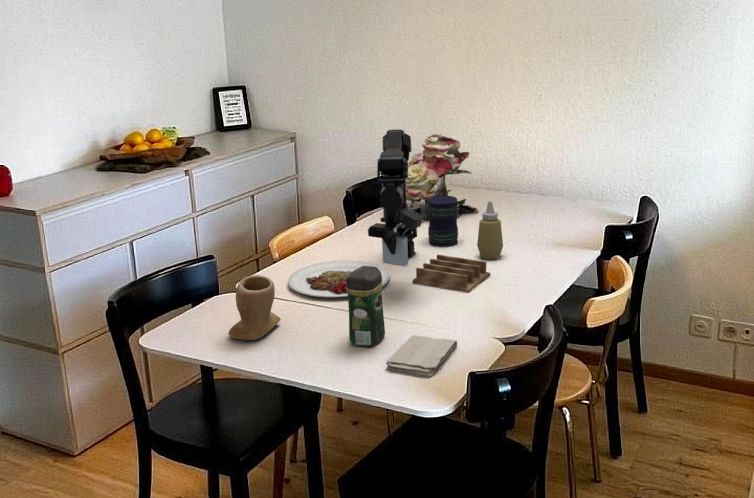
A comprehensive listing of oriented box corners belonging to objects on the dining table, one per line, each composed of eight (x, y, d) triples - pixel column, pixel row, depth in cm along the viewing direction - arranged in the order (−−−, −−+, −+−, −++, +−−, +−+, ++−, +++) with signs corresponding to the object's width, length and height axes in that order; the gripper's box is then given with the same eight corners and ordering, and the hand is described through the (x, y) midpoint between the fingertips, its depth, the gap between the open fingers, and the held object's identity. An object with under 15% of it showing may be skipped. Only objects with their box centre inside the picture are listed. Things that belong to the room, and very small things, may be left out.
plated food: (342, 259, 269) (342, 249, 268) (411, 280, 248) (410, 269, 247) (267, 285, 249) (266, 275, 248) (335, 310, 229) (334, 299, 228)
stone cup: (263, 346, 208) (258, 290, 203) (222, 340, 213) (216, 285, 208) (293, 323, 221) (288, 269, 216) (254, 318, 226) (249, 265, 221)
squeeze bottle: (502, 261, 260) (502, 205, 254) (476, 260, 262) (475, 205, 256) (503, 253, 267) (504, 198, 262) (478, 252, 269) (478, 198, 263)
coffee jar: (360, 330, 215) (356, 261, 209) (388, 334, 212) (386, 264, 206) (344, 345, 206) (340, 274, 201) (374, 349, 204) (371, 278, 198)
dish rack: (412, 283, 246) (411, 268, 244) (436, 267, 258) (435, 253, 256) (468, 292, 236) (468, 277, 235) (490, 275, 248) (490, 261, 247)
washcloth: (384, 373, 193) (383, 360, 192) (412, 341, 208) (411, 330, 207) (433, 380, 188) (432, 368, 187) (458, 348, 204) (458, 336, 203)
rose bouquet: (419, 201, 331) (417, 125, 322) (484, 210, 315) (484, 131, 305) (381, 217, 312) (377, 137, 302) (449, 228, 295) (447, 144, 286)
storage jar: (443, 249, 274) (442, 205, 269) (422, 243, 281) (421, 199, 276) (464, 242, 280) (464, 198, 275) (443, 236, 287) (442, 193, 282)
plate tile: (383, 263, 238) (381, 236, 236) (386, 261, 240) (385, 234, 237) (404, 266, 235) (403, 239, 232) (408, 264, 236) (407, 237, 234)
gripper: (401, 211, 220) (403, 267, 225) (434, 194, 235) (436, 247, 240) (365, 206, 225) (368, 261, 230) (400, 190, 240) (402, 242, 245)
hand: (395, 253), depth 236 cm, fingers closed on plate tile, 2 cm apart
